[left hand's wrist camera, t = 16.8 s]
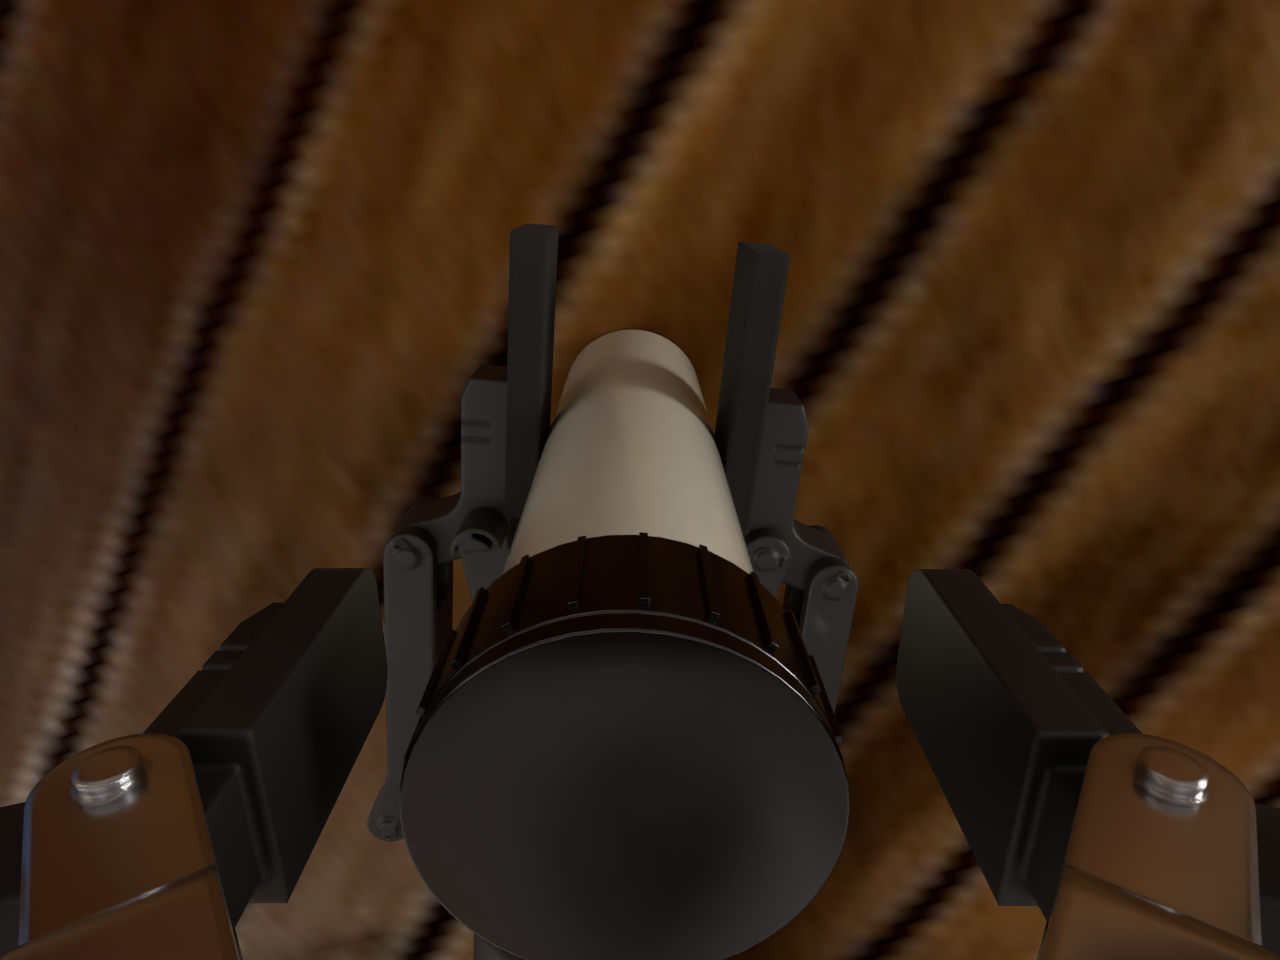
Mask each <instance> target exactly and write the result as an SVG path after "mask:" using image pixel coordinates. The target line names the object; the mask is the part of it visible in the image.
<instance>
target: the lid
mask: <svg viewBox="0 0 1280 960" xmlns="http://www.w3.org/2000/svg"><path fill="white" fill-rule="evenodd" d="M416 714H418V715H420V719H419V721H418V724H417V726H416V729H415V731H414V734H413V736H412V739H411V741H410V744H409V747H408V749H407V752H406V754H405V757H404V759H403V771H402V777H401V783H400V788H399V813H400V819H401V825H402V831H403V837H404V840H405V842H406V845H407V848H408V851H409V854H410V857H411V859H412V861H413V863H414V865H415V867H416V869H417V871H418V873H419V875H420V877H421V879H422V880H423V881H424V883H425V884H426V885H427V887H428V888H429V890H430V891H431V892H432V894H433V895H434V896H435V898H436V899H437V900H438V901H439V902H440V903H441V904H442V905H443V906H444V907H445V908H446V909H447V910H448V911H449V912H450V914H451V915H453V916H454V917H455V918H456V919H457V920H459V921H460V922H461V923H462V924H464V925H465V926H466V927H467V928H468V929H470V930H471V931H472V932H474V933H476V934H477V935H479V936H480V937H482V938H483V939H485V940H487V941H488V942H490V943H491V944H493V945H495V946H497V947H499V948H501V949H503V950H505V951H507V952H509V953H511V954H513V955H515V956H518V957H521V958H523V959H526V960H724V959H726V958H729V957H731V956H734V955H736V954H738V953H741V952H743V951H745V950H747V949H749V948H751V947H752V946H754V945H756V944H758V943H760V942H762V941H763V940H765V939H767V938H768V937H770V936H771V935H772V934H774V933H775V932H777V931H778V930H780V929H781V928H782V927H784V926H785V925H786V924H788V923H789V922H790V921H791V920H792V919H793V918H794V917H795V916H797V915H798V914H799V913H800V912H801V911H802V910H803V909H804V908H805V907H806V906H807V905H808V903H809V902H810V901H811V900H812V899H813V898H814V897H815V895H816V894H817V893H818V892H819V891H820V889H821V887H822V886H823V884H824V883H825V881H826V880H827V878H828V877H829V875H830V874H831V872H832V870H833V868H834V865H835V863H836V861H837V859H838V857H839V854H840V852H841V849H842V846H843V842H844V839H845V835H846V831H847V827H848V818H849V808H850V799H849V783H848V778H847V774H846V770H845V765H844V761H843V758H842V755H841V752H840V749H839V746H838V744H840V743H843V738H842V734H841V732H840V729H839V726H838V723H837V721H836V718H835V715H834V712H833V710H832V707H831V704H830V701H829V698H828V696H827V693H826V690H825V687H824V685H823V682H822V679H821V676H820V674H819V671H818V668H817V665H816V663H815V660H814V657H813V655H808V652H807V649H806V646H805V643H804V640H803V638H802V635H801V632H800V629H799V626H798V623H797V621H796V618H795V615H794V613H793V612H792V610H789V611H787V612H786V611H785V609H784V608H783V607H782V606H781V604H780V603H779V602H778V601H777V600H776V599H775V597H774V596H773V595H772V594H771V593H770V592H769V591H768V590H767V589H766V588H765V587H764V586H763V585H762V584H761V583H760V581H759V578H758V575H757V574H755V573H754V572H753V571H752V572H751V573H750V574H748V573H747V572H746V571H744V570H743V569H741V568H740V567H738V566H737V565H735V564H734V563H732V562H730V561H728V560H726V559H724V558H722V557H720V556H718V555H716V554H714V553H712V552H710V551H708V548H707V547H706V546H704V545H701V544H700V545H699V547H696V546H694V545H691V544H688V543H685V542H680V541H676V540H671V539H667V538H662V537H654V536H648V533H644V532H640V533H639V535H606V536H599V537H591V538H586V536H580V537H578V539H577V540H576V541H573V542H569V543H565V544H561V545H558V546H556V547H553V548H550V549H548V550H545V551H543V552H540V553H538V554H535V555H534V556H532V557H530V556H529V555H528V554H527V555H525V556H524V557H522V558H521V561H520V563H519V564H517V565H515V566H514V567H512V568H511V569H510V570H508V571H507V572H506V573H504V574H503V575H502V576H500V577H499V578H497V579H496V580H495V581H494V582H493V583H492V584H491V585H490V586H489V587H488V588H487V589H486V590H485V589H484V588H483V587H481V588H480V589H479V590H478V591H477V592H476V595H475V597H474V600H473V603H472V605H471V607H470V608H469V609H468V611H467V612H466V613H465V615H464V617H463V618H462V620H461V622H460V624H459V626H458V628H457V629H456V631H455V630H452V629H450V630H449V632H448V634H447V637H446V639H445V642H444V644H443V647H442V649H441V652H440V654H439V657H438V659H437V661H436V664H435V666H434V669H433V671H432V674H431V676H430V679H429V681H428V684H427V686H426V689H425V691H424V694H423V696H422V699H421V701H420V704H419V706H418V709H417V711H416Z"/></svg>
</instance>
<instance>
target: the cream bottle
mask: <svg viewBox="0 0 1280 960" xmlns="http://www.w3.org/2000/svg"><path fill="white" fill-rule="evenodd" d="M640 532H644V533H648V536H654V537H662V538H667V539H671V540H676V541H680V542H685V543H688V544H691V545H694V546H696V547H699V545H700V544H701V545H704V546H706V547H707V548H708V551H710V552H712V553H714V554H716V555H718V556H720V557H722V558H724V559H726V560H728V561H730V562H732V563H734V564H735V565H737V566H738V567H740V568H741V569H743V570H744V571H746V572H747V573H748V574H750V573H751V572H752V571H753V568H752V564H751V561H750V557H749V554H748V551H747V547H746V544H745V540H744V537H743V533H742V530H741V526H740V523H739V519H738V516H737V513H736V509H735V506H734V502H733V499H732V495H731V492H730V488H729V485H728V482H727V478H726V475H725V471H724V468H723V464H722V461H721V457H720V454H719V451H718V447H717V444H716V440H715V437H714V433H713V430H712V426H711V423H710V420H709V416H708V413H707V409H706V406H705V402H704V399H703V395H702V392H701V389H700V385H699V382H698V378H697V375H696V372H695V370H694V368H693V366H692V364H691V362H690V361H689V359H688V358H687V356H686V355H685V354H684V353H683V351H682V350H680V349H679V348H678V347H677V346H676V345H675V344H674V343H672V342H671V341H669V340H668V339H666V338H664V337H662V336H660V335H657V334H655V333H652V332H648V331H643V330H621V331H616V332H612V333H609V334H606V335H604V336H602V337H600V338H598V339H596V340H595V341H593V342H592V343H590V344H589V345H588V346H587V347H585V348H584V349H583V350H582V352H581V353H580V354H579V355H578V356H577V358H576V359H575V360H574V362H573V364H572V366H571V368H570V370H569V373H568V375H567V378H566V381H565V384H564V387H563V390H562V393H561V396H560V399H559V402H558V405H557V409H556V412H555V415H554V418H553V421H552V424H551V427H550V430H549V433H548V436H547V439H546V442H545V445H544V448H543V451H542V454H541V457H540V460H539V463H538V466H537V469H536V472H535V475H534V478H533V481H532V484H531V488H530V491H529V494H528V497H527V500H526V503H525V506H524V509H523V512H522V515H521V518H520V521H519V524H518V527H517V530H516V533H515V536H514V539H513V542H512V545H511V548H510V551H509V554H508V557H507V560H506V564H505V567H504V570H503V573H502V575H503V574H504V573H506V572H507V571H508V570H510V569H511V568H512V567H514V566H515V565H517V564H519V563H520V561H521V558H522V557H524V556H525V555H527V554H528V555H529V556H530V557H532V556H534V555H535V554H538V553H540V552H543V551H545V550H548V549H550V548H553V547H556V546H558V545H561V544H565V543H569V542H573V541H576V540H577V539H578V537H580V536H586V538H591V537H599V536H606V535H639V533H640ZM753 572H754V571H753Z"/></svg>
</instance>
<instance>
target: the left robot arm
mask: <svg viewBox="0 0 1280 960" xmlns="http://www.w3.org/2000/svg"><path fill="white" fill-rule="evenodd" d="M387 677H388V666H387V657H386V649H385V642H384V635H383V628H382V620H381V613H380V606H379V599H378V591H377V585H376V580H375V577H374V574H373V573H372V571H371V570H370V569H368V568H315V569H313V570H312V571H310V572H309V574H308V575H307V576H306V577H305V579H304V580H303V581H302V582H301V583H300V585H299V586H298V587H297V588H296V589H295V591H294V592H293V593H292V594H291V595H290V597H289V598H288V599H287V600H286V602H285V603H272V604H271V605H269V606H267V607H266V608H264V609H263V610H261V611H259V612H258V613H256V614H254V615H253V616H251V617H249V618H248V619H246V620H245V621H243V622H241V623H240V624H239V625H238V627H237V628H236V629H235V630H234V631H233V632H232V633H231V634H230V636H229V637H228V638H227V639H226V640H225V641H224V642H223V644H222V645H221V646H220V651H215V653H214V654H213V655H212V656H211V657H210V658H209V659H208V660H207V662H206V663H205V664H204V665H203V670H202V671H198V672H197V673H196V674H195V675H194V676H193V677H192V679H191V680H190V681H189V682H188V683H187V684H186V685H185V686H184V688H183V689H182V690H181V691H180V692H179V693H178V694H177V695H176V697H175V698H174V699H173V700H172V701H171V702H170V703H169V704H168V706H167V707H166V708H165V709H164V710H163V711H162V712H161V714H160V715H159V716H158V717H157V718H156V719H155V720H154V721H153V723H152V724H151V725H150V726H149V727H148V728H147V729H146V730H145V732H144V733H143V734H135V735H129V736H124V737H119V738H116V739H112V740H109V741H106V742H103V743H100V744H97V745H95V746H92V747H90V748H88V749H86V750H83V751H81V752H79V753H77V754H76V755H74V756H72V757H70V758H68V759H67V760H65V761H64V762H62V763H61V764H59V765H58V766H56V767H55V768H54V769H52V770H51V771H50V772H49V773H47V774H46V775H45V776H44V777H43V778H42V779H41V780H40V781H39V782H38V783H37V784H36V786H35V787H34V788H33V790H32V791H31V792H30V794H29V796H28V798H27V800H26V802H24V803H19V804H14V805H10V806H5V807H0V960H243V958H242V954H241V950H240V946H239V942H238V938H237V934H236V930H235V926H236V924H237V923H238V921H239V919H240V917H241V915H242V913H243V911H244V909H245V908H246V906H247V904H248V903H287V902H288V900H289V898H290V896H291V894H292V892H293V890H294V888H295V886H296V883H297V881H298V879H299V877H300V875H301V873H302V871H303V869H304V867H305V865H306V863H307V861H308V859H309V857H310V854H311V852H312V850H313V848H314V846H315V844H316V842H317V840H318V838H319V836H320V834H321V832H322V830H323V828H324V825H325V823H326V821H327V819H328V817H329V815H330V813H331V811H332V809H333V807H334V805H335V803H336V801H337V799H338V796H339V794H340V792H341V790H342V788H343V786H344V784H345V782H346V780H347V778H348V776H349V774H350V772H351V770H352V767H353V765H354V763H355V761H356V759H357V757H358V755H359V753H360V751H361V749H362V747H363V745H364V743H365V741H366V738H367V736H368V734H369V732H370V730H371V728H372V726H373V724H374V722H375V720H376V718H377V716H378V714H379V712H380V709H381V707H382V705H383V701H384V698H385V693H386V687H387ZM896 677H897V688H898V694H899V699H900V703H901V706H902V708H903V711H904V713H905V715H906V717H907V719H908V721H909V723H910V725H911V727H912V729H913V731H914V733H915V735H916V737H917V739H918V741H919V743H920V745H921V747H922V749H923V751H924V754H925V756H926V758H927V760H928V762H929V764H930V766H931V768H932V770H933V772H934V774H935V776H936V778H937V780H938V782H939V784H940V786H941V788H942V790H943V792H944V794H945V796H946V798H947V801H948V803H949V805H950V807H951V809H952V811H953V813H954V815H955V817H956V819H957V821H958V823H959V825H960V827H961V829H962V831H963V833H964V835H965V837H966V839H967V841H968V843H969V845H970V848H971V850H972V852H973V854H974V856H975V858H976V860H977V862H978V864H979V866H980V868H981V870H982V872H983V874H984V876H985V878H986V880H987V882H988V884H989V886H990V888H991V890H992V892H993V895H994V897H995V899H996V901H997V903H998V905H999V906H1039V908H1040V909H1041V911H1042V913H1043V915H1044V917H1045V919H1046V920H1047V922H1046V926H1045V930H1044V934H1043V938H1042V942H1041V946H1040V950H1039V954H1038V958H1037V960H1280V809H1279V808H1275V807H1270V806H1265V805H1261V804H1257V803H1254V800H1253V798H1252V796H1251V794H1250V792H1249V791H1248V790H1247V788H1246V787H1245V786H1244V784H1243V783H1242V782H1241V781H1240V780H1239V779H1238V778H1237V777H1236V776H1235V775H1234V774H1233V773H1231V772H1230V771H1229V770H1228V769H1226V768H1225V767H1224V766H1222V765H1221V764H1219V763H1218V762H1216V761H1215V760H1213V759H1212V758H1210V757H1208V756H1206V755H1204V754H1203V753H1201V752H1199V751H1197V750H1194V749H1192V748H1190V747H1188V746H1185V745H1183V744H1180V743H1177V742H1174V741H1171V740H1168V739H1164V738H1161V737H1156V736H1151V735H1145V734H1142V733H1141V732H1140V731H1139V730H1138V728H1137V727H1136V726H1135V725H1134V724H1133V723H1132V722H1131V721H1130V719H1129V718H1128V717H1127V716H1126V715H1125V714H1124V713H1123V712H1122V711H1121V709H1120V708H1119V707H1118V706H1117V705H1116V704H1115V703H1114V702H1113V700H1112V699H1111V698H1110V697H1109V696H1108V695H1107V694H1106V693H1105V692H1104V690H1103V689H1102V688H1101V687H1100V686H1099V685H1098V684H1097V683H1096V681H1095V680H1094V679H1093V678H1092V677H1091V676H1090V675H1089V674H1088V673H1084V672H1083V667H1082V666H1081V665H1080V664H1079V662H1078V661H1077V660H1076V659H1075V658H1074V657H1073V656H1072V655H1071V654H1070V652H1066V651H1065V647H1064V646H1063V645H1062V643H1061V642H1060V641H1059V640H1058V639H1057V638H1056V637H1055V636H1054V634H1053V633H1052V632H1051V631H1050V630H1049V629H1048V628H1047V627H1046V626H1045V624H1043V623H1042V622H1040V621H1038V620H1037V619H1035V618H1033V617H1032V616H1030V615H1028V614H1027V613H1025V612H1023V611H1022V610H1020V609H1019V608H1017V607H1015V606H1014V605H1012V604H1000V603H999V602H998V600H997V599H996V598H995V597H994V596H993V594H992V593H991V592H990V591H989V590H988V588H987V587H986V586H985V585H984V584H983V582H982V581H981V580H980V579H979V578H978V576H977V575H976V574H975V573H974V572H973V571H971V570H968V569H917V570H915V571H914V572H913V573H912V574H911V576H910V579H909V582H908V587H907V594H906V601H905V609H904V616H903V623H902V630H901V637H900V644H899V651H898V658H897V669H896Z"/></svg>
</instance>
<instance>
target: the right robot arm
mask: <svg viewBox="0 0 1280 960" xmlns="http://www.w3.org/2000/svg"><path fill="white" fill-rule="evenodd" d="M557 249H558V226H550V225H539V224H525V225H523V226H521V227H519V228H517V229H515V230H513V231H511V232H510V273H509V320H508V366H507V367H504V366H491V365H480V366H479V368H478V369H477V370H476V371H475V373H474V374H473V375H472V376H471V378H470V379H469V382H468V384H467V386H466V389H465V391H464V393H463V396H462V398H461V421H462V423H461V438H462V439H461V492H459V493H457V494H455V495H452V496H449V497H445V498H441V499H440V498H436V497H433V496H429V497H422V498H420V499H419V500H417V501H415V503H414V504H413V505H412V507H411V508H410V510H409V511H408V512H407V514H406V515H405V517H404V518H403V520H402V521H401V523H400V524H399V526H398V527H397V529H396V530H395V532H394V533H393V535H392V536H391V538H390V539H389V541H388V542H387V544H386V545H385V549H384V553H383V564H384V612H385V649H386V657H387V666H388V677H387V687H386V708H387V756H388V772H387V775H386V777H385V780H384V782H383V784H382V787H381V789H380V792H379V794H378V797H377V799H376V801H375V804H374V806H373V809H372V811H371V813H370V816H369V818H368V824H367V825H368V828H369V830H370V832H371V833H372V834H373V835H374V836H375V837H377V838H379V839H381V840H385V841H398V840H400V839H402V838H404V837H403V831H402V825H401V819H400V813H399V788H400V783H401V777H402V771H403V759H404V757H405V754H406V752H407V749H408V747H409V744H410V741H411V739H412V736H413V734H414V731H415V729H416V726H417V724H418V721H419V719H420V715H418V714H416V711H417V709H418V706H419V704H420V701H421V699H422V696H423V694H424V691H425V689H426V686H427V684H428V681H429V679H430V676H431V674H432V671H433V669H434V666H435V664H436V661H437V659H438V657H439V654H440V652H441V649H442V647H443V644H444V642H445V639H446V637H447V634H448V632H449V630H450V629H452V604H453V560H456V559H460V558H462V562H463V566H464V570H465V574H466V578H467V582H468V586H469V590H470V594H471V598H472V602H473V600H474V597H475V595H476V592H477V591H478V590H479V589H480V588H481V587H483V588H484V589H485V590H486V589H487V588H488V587H489V586H490V585H491V584H492V583H493V582H494V581H495V580H496V579H497V578H499V577H500V576H502V573H503V570H504V567H505V564H506V560H507V557H508V554H509V551H510V548H511V545H512V542H513V539H514V536H515V533H516V530H517V527H518V524H519V521H520V518H521V515H522V512H523V509H524V506H525V503H526V500H527V497H528V494H529V491H530V488H531V484H532V481H533V478H534V475H535V472H536V469H537V466H538V463H539V460H540V457H541V454H542V451H543V448H544V445H545V442H546V439H547V436H548V433H549V430H550V413H551V389H552V366H553V343H554V319H555V296H556V272H557ZM789 257H790V255H788V254H786V253H784V252H782V251H781V250H779V249H777V248H775V247H773V246H771V245H770V244H759V243H748V242H739V243H738V251H737V259H736V267H735V275H734V283H733V292H732V300H731V308H730V316H729V324H728V332H727V340H726V348H725V356H724V364H723V372H722V380H721V388H720V396H719V404H718V412H717V420H716V429H715V440H716V444H717V447H718V451H719V454H720V457H721V461H722V464H723V468H724V471H725V475H726V478H727V482H728V485H729V488H730V492H731V495H732V499H733V502H734V506H735V509H736V513H737V516H738V519H739V523H740V526H741V530H742V533H743V537H744V540H745V544H746V547H747V551H748V554H749V557H750V561H751V564H752V568H753V571H754V573H755V574H757V575H758V578H759V581H760V583H761V584H762V585H763V586H764V587H765V588H766V589H767V590H768V591H769V592H770V593H771V594H772V595H773V596H774V597H776V595H777V592H778V590H779V588H780V586H781V583H782V582H784V583H786V590H785V596H784V603H783V608H784V609H785V611H786V612H787V611H789V610H792V612H793V613H794V615H795V618H796V621H797V623H798V626H799V629H800V632H801V635H802V638H803V640H804V643H805V646H806V649H807V652H808V655H813V657H814V660H815V663H816V665H817V668H818V671H819V674H820V676H821V679H822V682H823V685H824V687H825V690H826V693H827V696H828V698H829V701H830V704H831V707H832V710H833V712H834V714H835V709H836V703H837V698H838V693H839V687H840V682H841V677H842V672H843V666H844V661H845V656H846V651H847V645H848V640H849V635H850V629H851V624H852V619H853V614H854V608H855V603H856V598H857V593H858V580H857V578H856V576H855V574H854V573H853V571H852V569H851V566H850V564H849V563H848V561H847V559H846V557H845V555H844V553H843V551H842V550H841V548H840V546H839V544H838V542H837V541H836V539H835V538H834V536H833V534H832V532H831V531H829V530H828V529H827V528H825V527H822V526H818V525H816V526H807V525H805V524H802V523H800V522H798V521H796V520H795V519H793V515H794V509H795V503H796V497H797V491H798V485H799V479H800V473H801V465H802V462H803V456H804V448H805V444H806V438H807V432H808V423H807V418H806V414H805V410H804V406H803V404H802V403H801V401H800V400H799V399H798V397H797V396H796V394H795V393H794V392H793V390H787V389H775V388H770V386H771V379H772V372H773V366H774V359H775V352H776V345H777V339H778V332H779V325H780V318H781V312H782V305H783V298H784V291H785V284H786V278H787V271H788V264H789ZM474 960H526V959H523V958H521V957H518V956H515V955H513V954H511V953H509V952H507V951H505V950H503V949H501V948H499V947H497V946H495V945H493V944H491V943H490V942H488V941H487V940H485V939H483V938H482V937H480V936H479V935H477V934H476V933H474Z"/></svg>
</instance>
